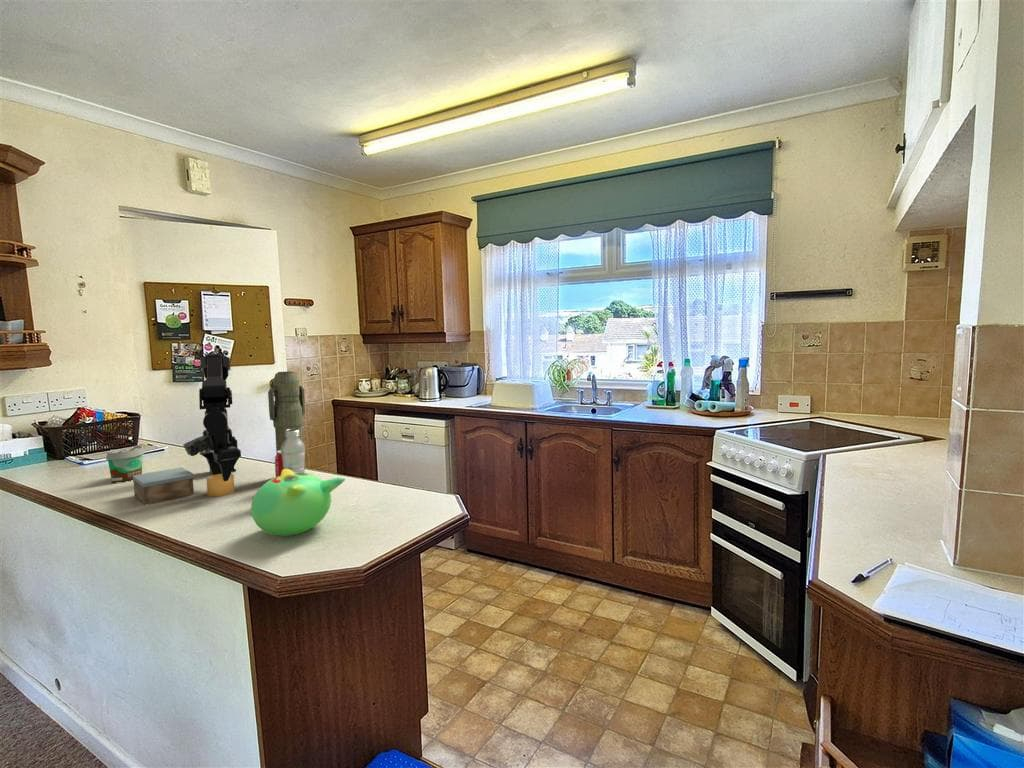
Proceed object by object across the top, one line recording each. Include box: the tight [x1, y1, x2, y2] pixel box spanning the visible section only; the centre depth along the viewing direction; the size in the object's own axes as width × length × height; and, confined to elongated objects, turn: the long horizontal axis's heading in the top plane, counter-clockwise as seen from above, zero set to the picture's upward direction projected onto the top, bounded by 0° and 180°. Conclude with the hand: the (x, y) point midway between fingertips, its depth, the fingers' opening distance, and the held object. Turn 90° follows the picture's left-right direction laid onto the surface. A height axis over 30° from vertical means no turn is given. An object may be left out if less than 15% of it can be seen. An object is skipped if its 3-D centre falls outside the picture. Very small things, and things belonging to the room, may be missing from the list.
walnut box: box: [132, 478, 195, 506], centre depth 147 cm, size 12×12×5 cm
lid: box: [133, 467, 196, 487], centre depth 147 cm, size 12×12×1 cm
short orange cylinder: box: [205, 473, 235, 498], centre depth 150 cm, size 7×7×5 cm
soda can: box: [274, 450, 284, 477], centre depth 152 cm, size 7×7×12 cm
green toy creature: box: [250, 469, 346, 537], centre depth 119 cm, size 18×17×15 cm
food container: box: [105, 445, 145, 484], centre depth 165 cm, size 12×6×10 cm, turn 179°
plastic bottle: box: [281, 429, 306, 473], centre depth 142 cm, size 6×7×20 cm
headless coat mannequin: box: [267, 371, 306, 473], centre depth 164 cm, size 9×12×35 cm
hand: (220, 478), depth 150 cm, fingers open, 9 cm apart
